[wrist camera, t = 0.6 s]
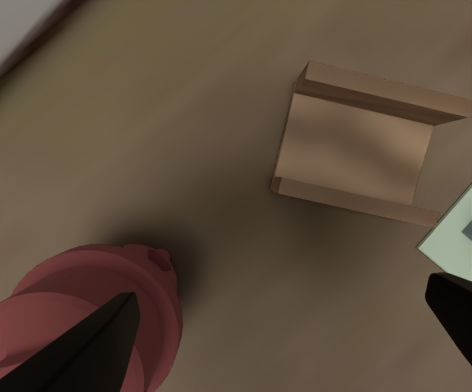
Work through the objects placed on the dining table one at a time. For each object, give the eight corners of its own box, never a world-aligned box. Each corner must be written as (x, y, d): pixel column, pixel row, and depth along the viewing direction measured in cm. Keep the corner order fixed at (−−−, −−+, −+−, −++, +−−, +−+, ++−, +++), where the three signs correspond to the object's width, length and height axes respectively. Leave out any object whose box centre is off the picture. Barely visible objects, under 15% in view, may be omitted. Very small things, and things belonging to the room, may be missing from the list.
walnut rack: (400, 218, 22) (435, 228, 18) (269, 190, 21) (277, 193, 18) (430, 113, 21) (473, 100, 17) (295, 81, 21) (309, 61, 17)
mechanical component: (64, 278, 22) (138, 198, 21) (147, 349, 23) (221, 274, 22) (-153, 412, 10) (9, 232, 9) (44, 559, 10) (206, 401, 10)
